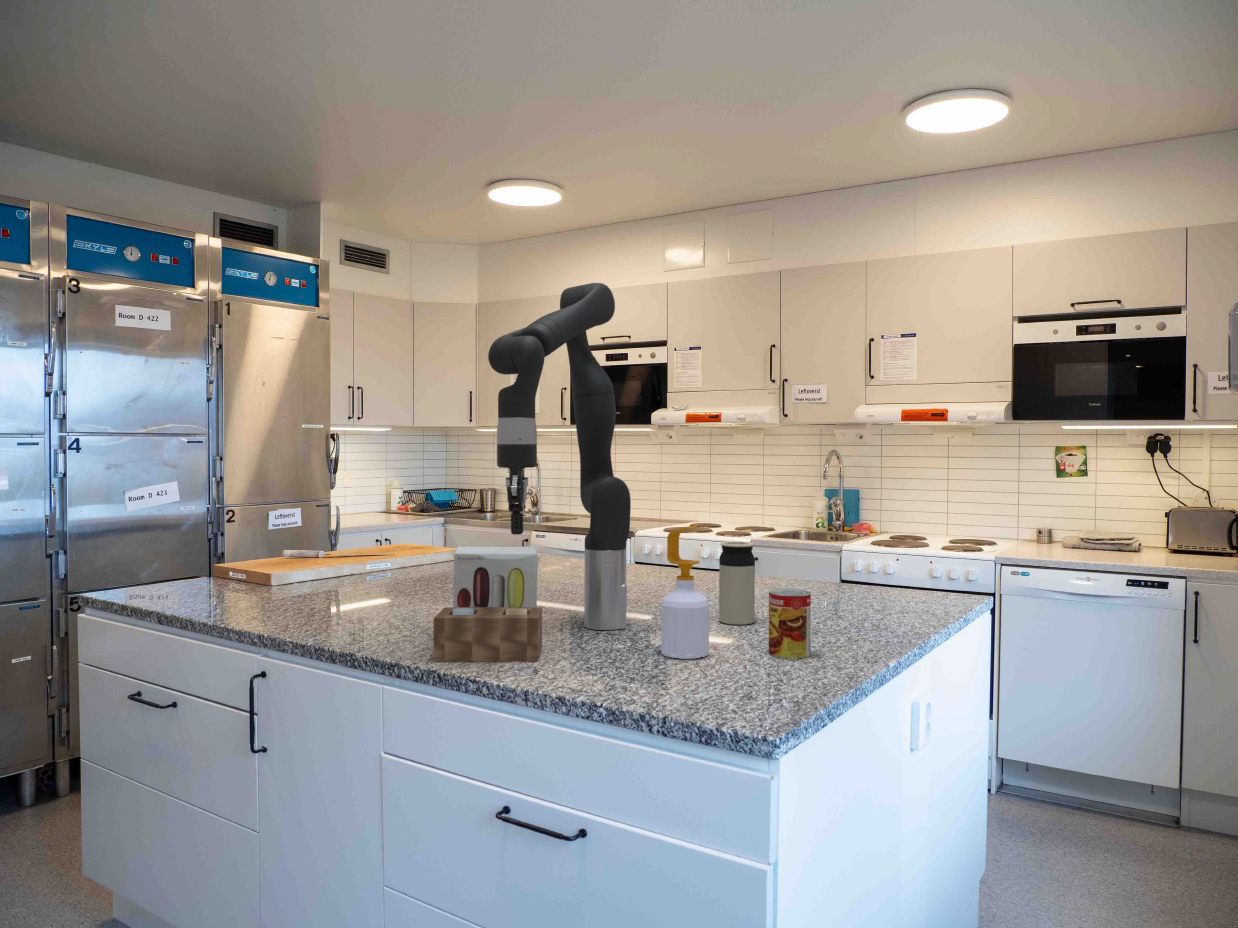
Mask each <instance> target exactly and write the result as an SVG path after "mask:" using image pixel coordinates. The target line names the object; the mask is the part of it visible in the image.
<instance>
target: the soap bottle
mask: <svg viewBox="0 0 1238 928" xmlns="http://www.w3.org/2000/svg"><path fill="white" fill-rule="evenodd" d="M697 526H698V525H691V526H689V525H688V526H686V527H682V528H679V529H676V530H671V531H670V532H669V533H668V535H667V537H666V540H667V541H666V542H667V543H666V544H667V545H666V546H667V550H666V551H667V553H666V556H667V557H666V558H667V561H668V562H669V563H670V564H671V565H677V567H678V569H680V575H676V587H675V588H674V589H673V590H671V591H670V592H668V593H667V594H666V595H665V596H663V598H662V601H661V602H660V603H661V606H660V607H661V611H660V612H661V613H660V614H661V616H660V617H661V618H660V619H661V621H660V627H661V628H660V634H661V636H660V641H661V642H660V644H661V645H660V650H661V655H663V656H665V657H666V656H667V657H666V658H669V657H672V658H671V659H673V658H679V659H678V660H683V659H690V660H692V659H691V658H700V657H703V658H705V656H706V657H707V656H708V655H710V654H709V653H710V650H709V649H710V604H709V601H708V599H707V597H706V596H705V595H704V594H703V593H701V592H700V591H698V590H697V589H696V588H695V577H694V576H693V575H691V574H690V571H691V570H690V569H693V567H694V565H698V564H700V560H692V559H691V560H690V559H682V558H681V557H680V535H681V534H682V533H683V532H686V531H689V530H693V529H697ZM700 659H701V658H700Z"/></svg>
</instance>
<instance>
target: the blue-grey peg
mask: <svg viewBox="0 0 1238 928" xmlns="http://www.w3.org/2000/svg"><path fill="white" fill-rule="evenodd" d="M453 615H474V609H473V608H456V609H453Z"/></svg>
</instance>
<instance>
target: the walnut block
mask: <svg viewBox="0 0 1238 928" xmlns="http://www.w3.org/2000/svg"><path fill="white" fill-rule="evenodd" d="M456 608H473V609H474V615H453V609H456ZM509 608H526V609H527V615H506V609H509ZM542 649H543V607H541V606H537V607H453V606H449V607H448V606H445V607H443V608H442V609H441V610H440V611H439V612H438V613H437V614H436V615H435V616H434V617H433V663H444V662H443V661H532V662H533V663H534V661H538V662H539V660H540V656H541V653H542ZM438 661H439V662H438ZM440 661H442V662H440Z"/></svg>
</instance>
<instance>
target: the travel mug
mask: <svg viewBox="0 0 1238 928" xmlns="http://www.w3.org/2000/svg"><path fill="white" fill-rule="evenodd" d="M754 545H755V543H753V542H750V541H749V542H747V541H724V542H720V546H721V550H722V552H721V554H720V556H719V560H718V562H719V565H718V566H719V569H718V570H719V571H718V573H719V574H718V575H719V576H718V577H719V578H718V580H719V583H718V584H719V585H718V587H719V591H718V592H719V593H718V595H719V596H718V597H719V599H718V603H719V605H718V606H719V607H718V620H719V622H721V623H722V624H725V625H732V626H747V625H751V624H752V623H755V613H756V612H755V607H756V606H755V605H756V603H755V601H756V600H755V592H756V589H755V588H756V586H755V585H756V580H755V579H756V578H755V577H756V575H755V573H756V572H755V571H756V570H755V569H756V565H755V563H756V557H755V555H754V553H753V552H752V551H753V547H754Z"/></svg>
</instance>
